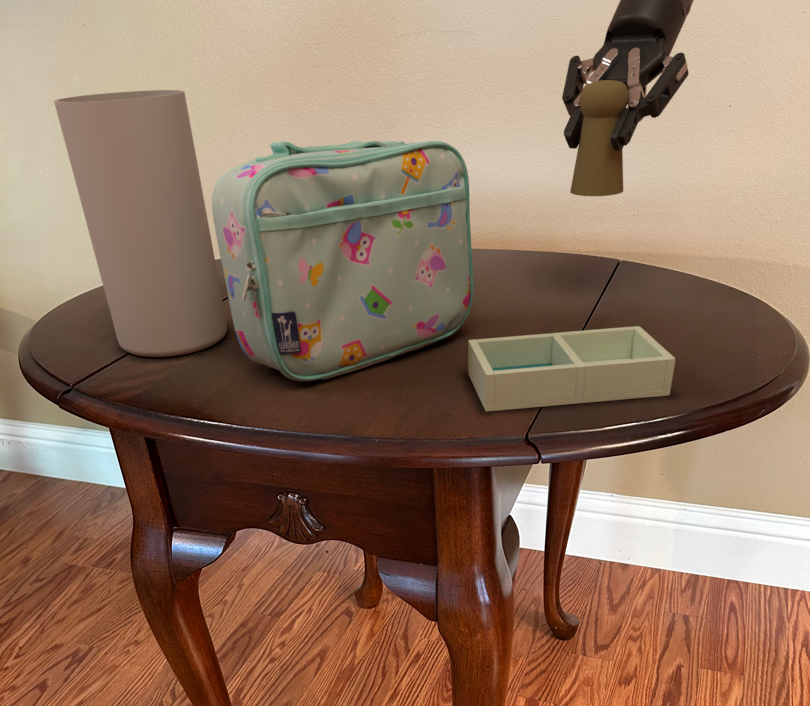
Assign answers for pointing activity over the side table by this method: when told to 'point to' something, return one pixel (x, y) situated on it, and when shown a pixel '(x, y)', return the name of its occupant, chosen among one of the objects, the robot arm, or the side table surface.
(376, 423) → the side table surface
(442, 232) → the lunch box
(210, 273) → the cylinder vase
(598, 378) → the compartment tray
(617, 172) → the brown game pawn
